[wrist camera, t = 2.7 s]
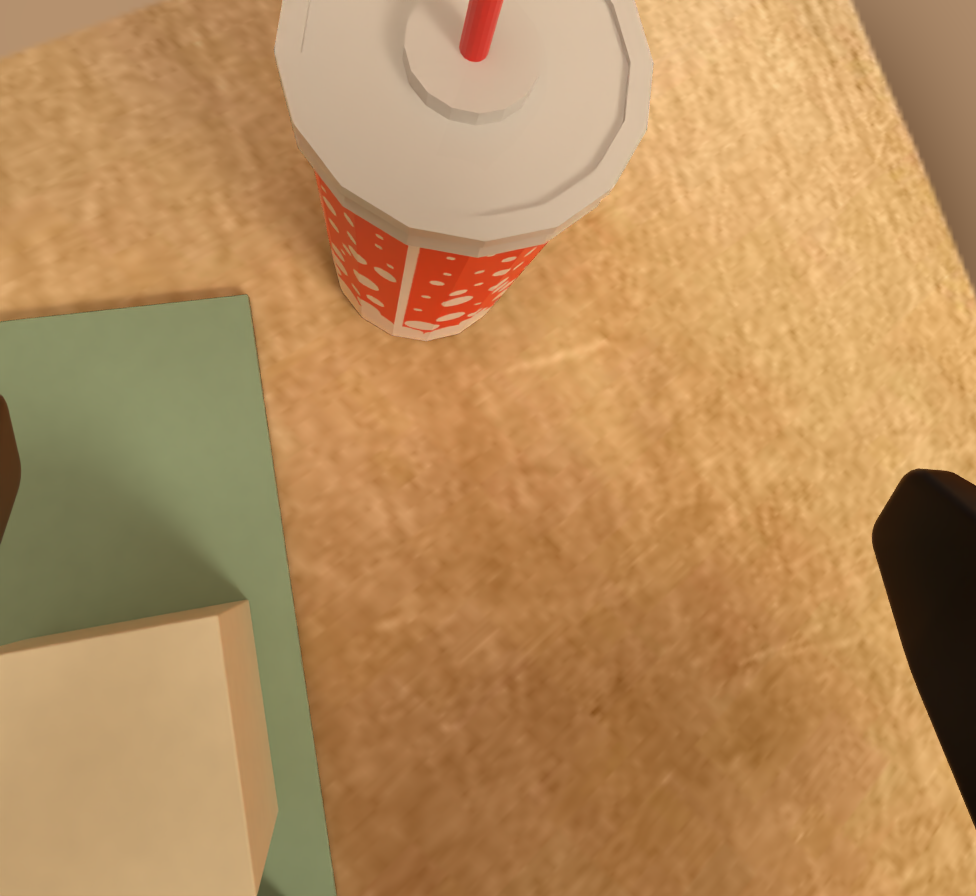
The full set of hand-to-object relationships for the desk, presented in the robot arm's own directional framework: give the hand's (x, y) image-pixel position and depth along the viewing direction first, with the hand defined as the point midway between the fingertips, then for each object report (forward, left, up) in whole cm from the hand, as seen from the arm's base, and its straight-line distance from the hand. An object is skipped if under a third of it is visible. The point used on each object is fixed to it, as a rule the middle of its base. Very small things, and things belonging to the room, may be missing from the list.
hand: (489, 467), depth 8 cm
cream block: (0, +7, -13) cm, 15 cm away
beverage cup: (+5, -5, -13) cm, 15 cm away
